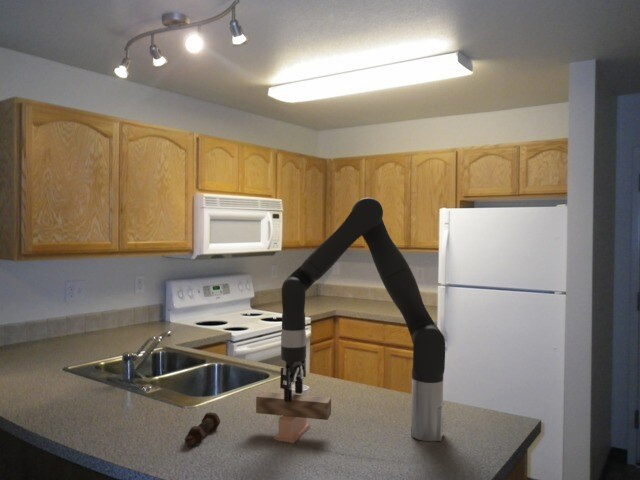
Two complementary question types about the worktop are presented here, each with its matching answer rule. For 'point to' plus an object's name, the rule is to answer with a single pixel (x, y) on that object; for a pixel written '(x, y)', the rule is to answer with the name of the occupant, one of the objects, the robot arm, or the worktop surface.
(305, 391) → the cup
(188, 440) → the bolt
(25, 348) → the worktop surface
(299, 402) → the walnut bar
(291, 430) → the ridge
